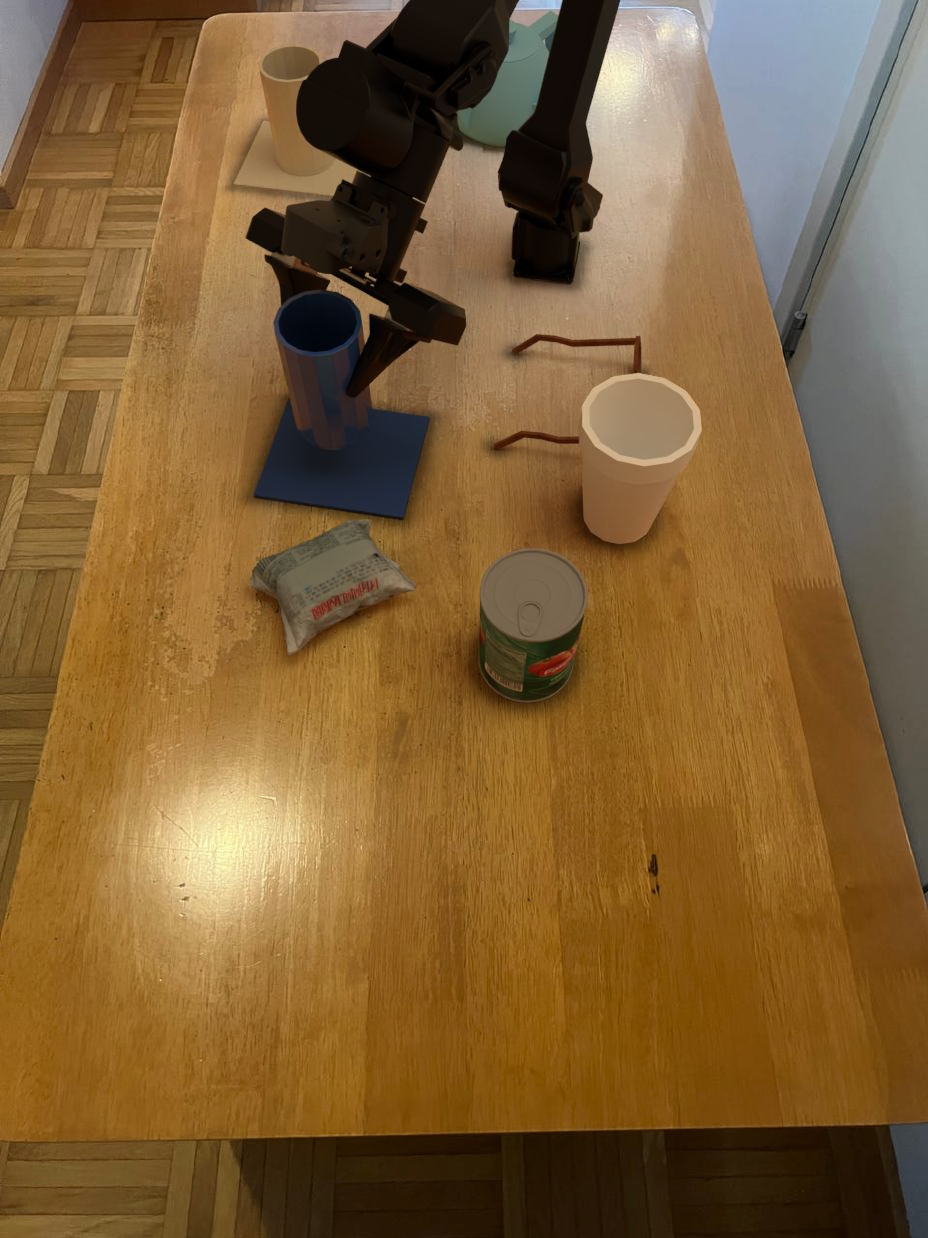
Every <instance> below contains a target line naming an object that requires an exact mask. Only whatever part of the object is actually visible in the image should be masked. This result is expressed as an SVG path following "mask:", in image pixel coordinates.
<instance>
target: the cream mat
mask: <svg viewBox="0 0 928 1238" xmlns="http://www.w3.org/2000/svg"><path fill="white" fill-rule="evenodd" d="M356 171H359V170H357V169H355V168H353V167H351V166H350V165H348V164H346V163H344V162H342V161H340V160H338V159H336V158H335V161H334V163H333V164H332V166H331V167H330V168H328V169H327V170H326V171H324V172H322V173H319V174H316V175H312V176H296V175H292V174H289V173H287V172H285V171H284V170H282V169H281V168H280V166H279V165H278V162H277V157H276V152H275V147H274V142H273V137H272V132H271V127H270V122H269V120H262V122H261V125H260V127H259V129H258V131H257V134H256V135H255V138H254V139H253V142H252V143H251V146H250V148H249V150H248V153H247V154H246V156H245V159H244V161H243V163H242V165H241V167H240V168H239V171H238V174H237V176H236V177H235V180H234V181H233V185H239V186H247V187H255V188H265V189H271V190H272V189H273V190H280V191H281V190H282V191H290V192H297V193H305V194H315V195H324V196H332V197H333V196H334V194H335V191H336V188H337V186H338V185H339V184H341V181H342V179H344V180H346V181H348V182H350V183H352V182H353V179H354V176H355V174H356ZM359 172H361V173H363V172H362V171H359Z"/></svg>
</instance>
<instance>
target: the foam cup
mask: <svg viewBox="0 0 928 1238" xmlns="http://www.w3.org/2000/svg"><path fill="white" fill-rule="evenodd" d="M702 431H703V427H702V417H701V410H700V408H699V407H698V405H697V403H696V402H695V401H694V400H693V398H692V397H691V395H690V394H689V393H688V391H687V390H685V389H684V388H682V387H681V386H679V385H677V384H675V383H674V382H672V381H670V380H668V379H667V378H665V377H660V376H655V375H650V374H646V373H642V372H641V373H635V374H633V373H628V374H622V375H614V376H612V377H610V378H608V379H606V380H605V381H603V382H600V383H599V384H598V385H596V386H594V387H593V388H592V389H591V390H590V392H589V394H588V396H587V397H586V399H585V400H584V402H583V403H582V405H581V410H580V416H579V422H578V436H579V444H578V447H579V448H580V450H581V474H582V477H581V478H582V512H583V514H582V515H583V521H584V523H585V525H586V526H587V529H588V530H589V532H590V533H591V534H593V535H595V536H596V537H597V538H599V539H600V540H602V541H603V542H608V543H612V544H616V545H622V544H630V543H635V542H636V541H638V540H640V539H642V538H643V537H644V536H646V535H647V534H648V533H649V531H650V530H651V528H652V526H653V524H654V522H655V520H656V518H657V516H658V514H659V512H660V510H661V509H662V507H663V505H664V504H665V502H666V500H667V498H668V496H669V495H670V493H671V492H672V489H673V488H674V485H675V484H676V481H677V480H678V478H679V476H680V474H681V473H682V472H683V471H684V470H685V469H687V467H688V465H689V463H690V461H691V459H692V457H693V456H694V454H695V452H696V449H697V447H698V443H699V440H700V438H701V435H702Z"/></svg>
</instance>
